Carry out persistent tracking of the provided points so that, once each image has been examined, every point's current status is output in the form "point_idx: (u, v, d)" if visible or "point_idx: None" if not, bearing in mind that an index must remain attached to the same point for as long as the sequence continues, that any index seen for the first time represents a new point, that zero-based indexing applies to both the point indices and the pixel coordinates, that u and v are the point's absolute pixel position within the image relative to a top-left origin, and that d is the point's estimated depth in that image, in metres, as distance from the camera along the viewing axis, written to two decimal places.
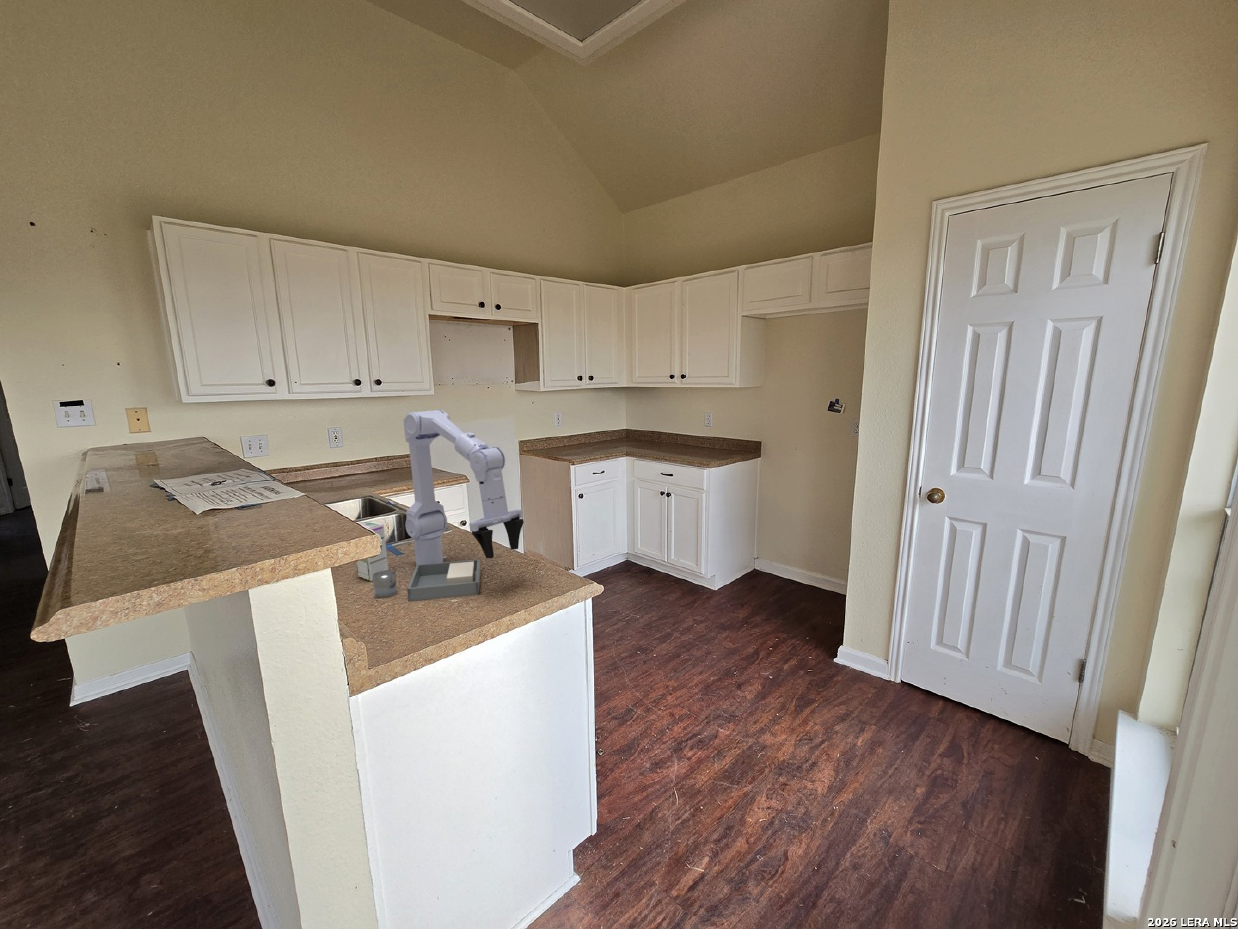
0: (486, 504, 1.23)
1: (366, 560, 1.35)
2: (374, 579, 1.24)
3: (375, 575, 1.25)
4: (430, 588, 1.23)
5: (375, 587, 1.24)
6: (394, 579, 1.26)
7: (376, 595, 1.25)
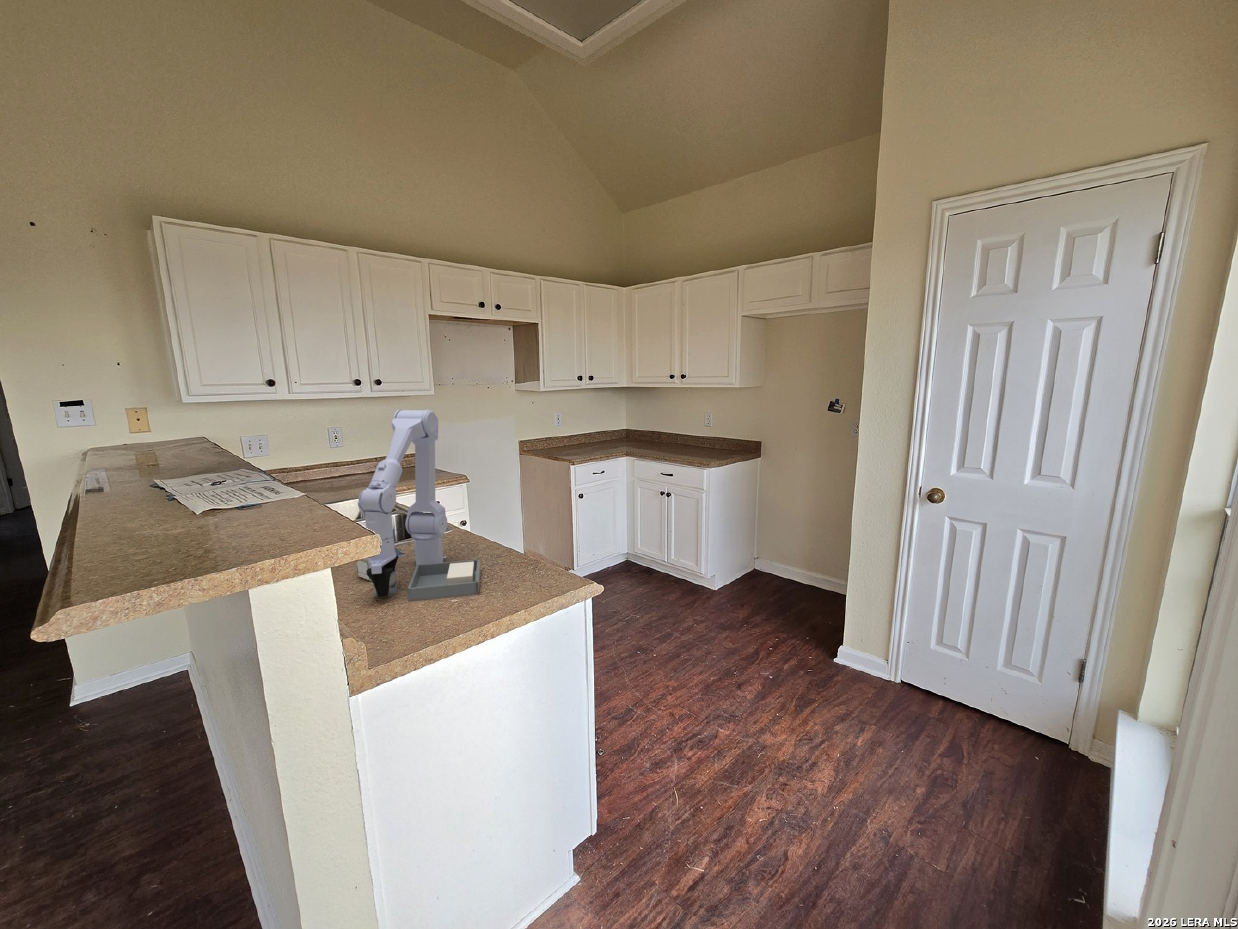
0: None
1: (366, 560, 1.35)
2: None
3: None
4: (430, 588, 1.23)
5: None
6: (394, 579, 1.26)
7: (376, 595, 1.25)
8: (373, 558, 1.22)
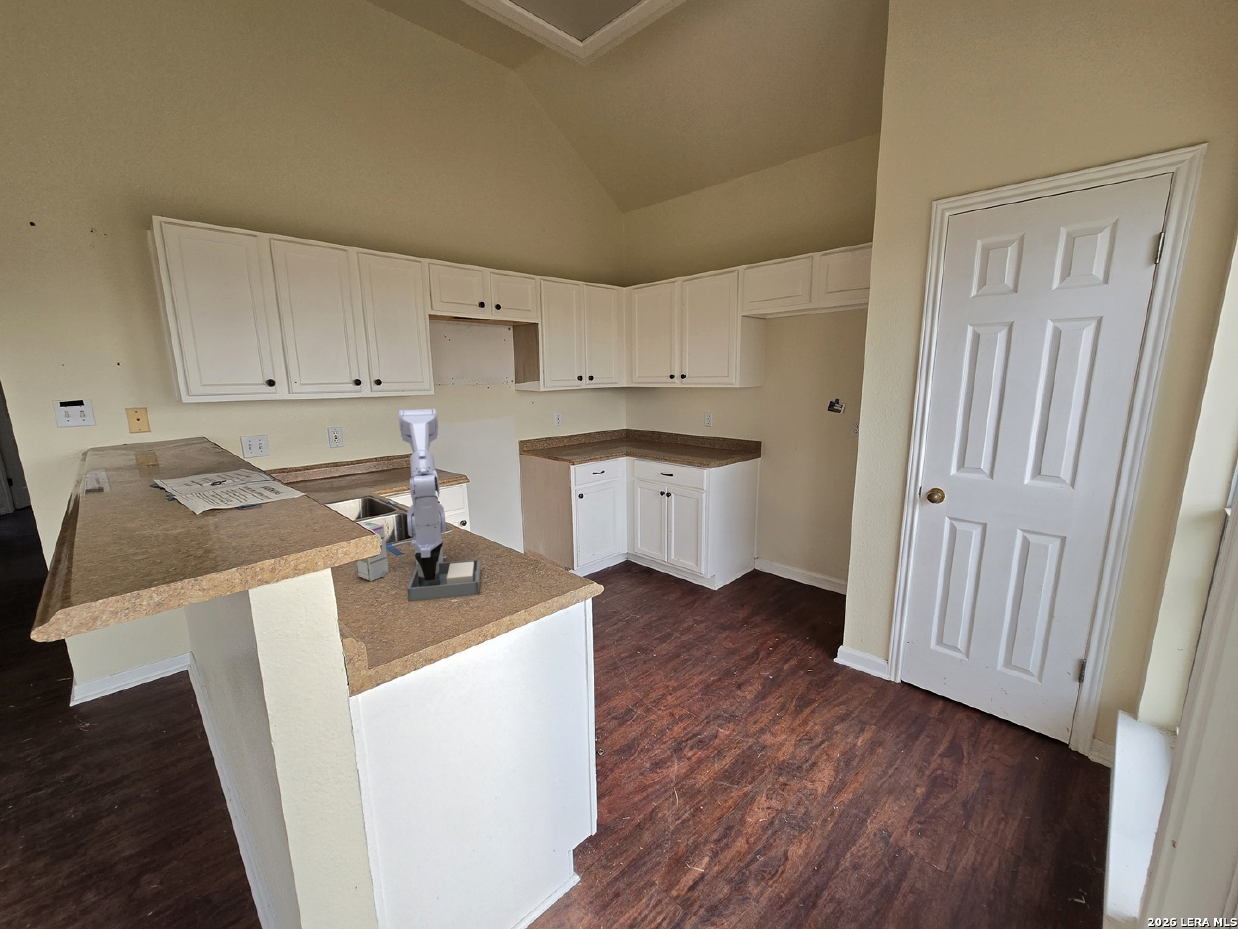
0: None
1: (366, 560, 1.35)
2: (419, 568, 1.28)
3: None
4: (430, 588, 1.23)
5: (420, 576, 1.28)
6: (438, 568, 1.30)
7: (421, 584, 1.28)
8: (421, 543, 1.26)
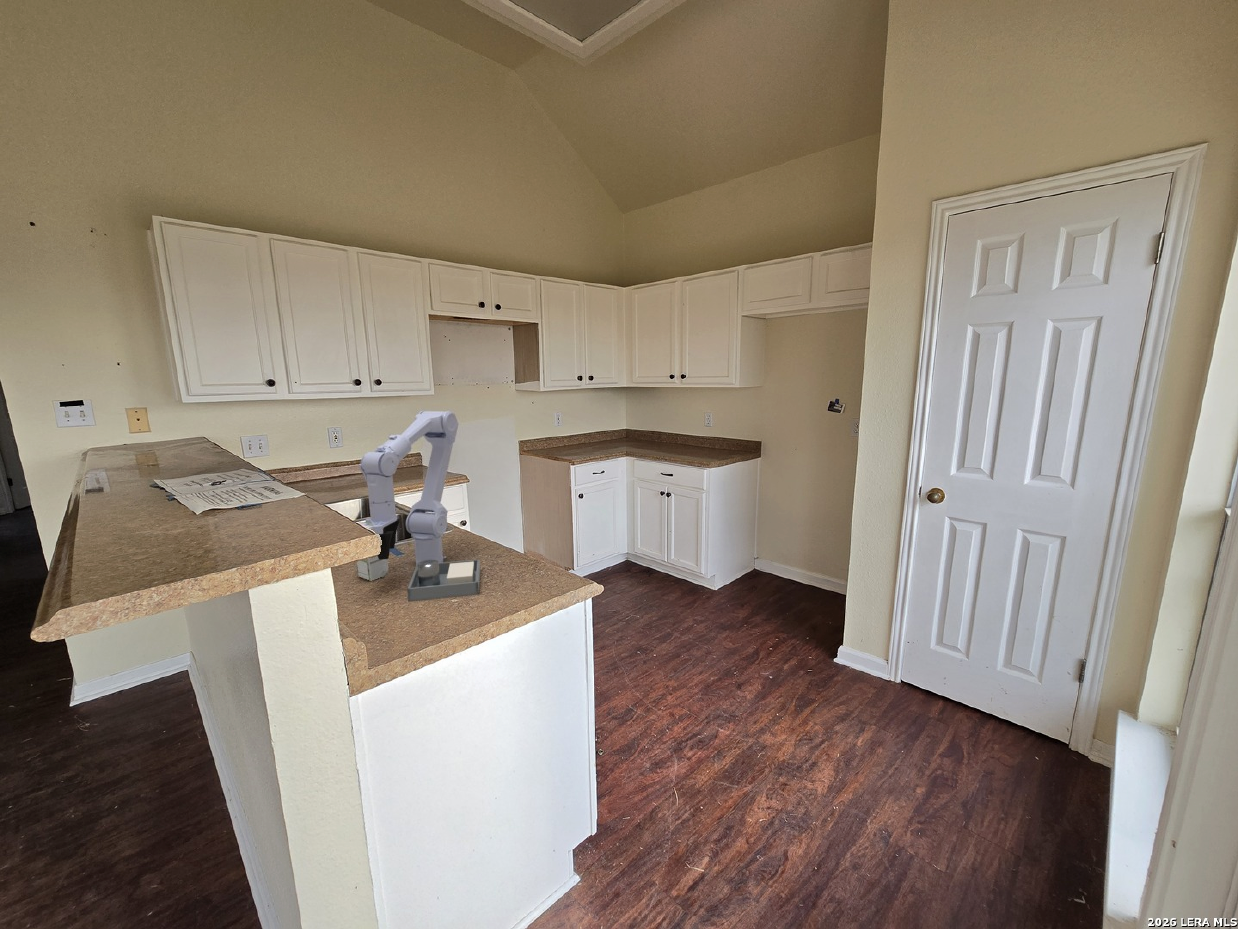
0: None
1: (366, 560, 1.35)
2: (419, 568, 1.28)
3: (420, 564, 1.29)
4: (430, 588, 1.23)
5: (420, 576, 1.28)
6: (438, 568, 1.30)
7: (421, 584, 1.28)
8: (375, 520, 1.26)
